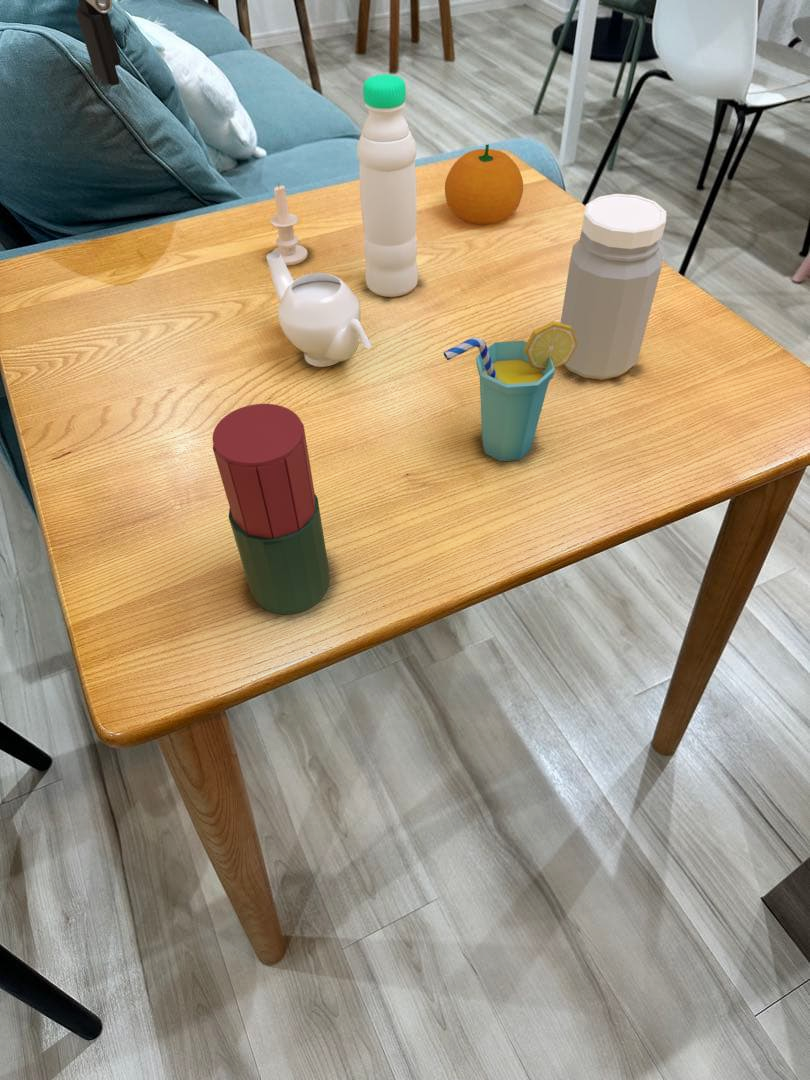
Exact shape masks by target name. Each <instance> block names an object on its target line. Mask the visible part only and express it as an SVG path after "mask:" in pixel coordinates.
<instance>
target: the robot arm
mask: <svg viewBox="0 0 810 1080" xmlns="http://www.w3.org/2000/svg"><path fill="white" fill-rule="evenodd" d="M77 1H78V4H79V5H76V8H77V9H76V10H75V13H76V17H77V20H78V23H79V26H80V30H81V33H82V34H81V35H82V37H83V41H84V44H85V47H86V50H87V54H88V57H89V61H90V64H91V67H92V70H93V73H94V74H95V76H97V77H98V78H99V79H100V80H102V81H103V82H104V83H105V84H107V85H110V86H112V87H114V86H117V85H120V79H119V74H118V72H117V71H118V70H117V66H120V65H121V64H122V61H121V56H120V52H119V48H118V45H117V41H116V38H115V34H114V30H113V26H112V23H111V20H110V16H109V12H111V10H112V7H113V0H77Z"/></svg>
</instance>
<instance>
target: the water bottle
mask: <svg viewBox="0 0 810 1080" xmlns="http://www.w3.org/2000/svg"><path fill="white" fill-rule="evenodd" d="M406 89H407V88H406V83H405V81H404V79H403V78H401V77H400V76H397V75H394V74H386V73H384V74H375V75H372V76H370V77H368V78H367V79H366V80H365V81H364V83H363V86H362V97H363V102H364V107H365V108H366V109H367V111H368V115H367V118H366V120H365V121H364V124H363V127H362V131H361V134H360V136H359V139H358V142H357V147H356V154H357V159H358V161H359V173H358V174H359V198H360V211H361V222H362V229H363V234H364V235H363V254H364V258H365V267H364V268H365V269H364V271H365V272H364V275H365V276H364V277H365V283H366V284H365V285H366V287H367V288H368V289H369V290H370V291H371V292H372V293H373V294H375V295H378V296H381V297H387V298H397V297H401V296H404V295H407V294H409V293H411V292H412V291H413V290H414V289H415V288H416V287H417V285H418V282H419V281H418V280H419V272H418V261H417V257H418V238H417V233H416V232H417V231H416V230H417V218H418V217H417V214H418V189H417V185H418V183H417V171H416V161H415V160H416V157H417V143H416V141H415V138H414V136H413V133H412V131H411V130H410V128H409V124H408V121H407V120H406V118H405V117H404V115H403V108H404V107H405V105H406V97H407V95H406V94H407V92H406Z"/></svg>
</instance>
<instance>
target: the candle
mask: <svg viewBox="0 0 810 1080" xmlns="http://www.w3.org/2000/svg"><path fill="white" fill-rule="evenodd" d="M277 185H278V186H276V187H274V189H273V191H274V192H273V193H274V202H275V208H276V215H273V216H272V217H271V218H270V221H269V222H270V224H271V225H272V226H274V227H276V228H277V234H278V237H277V238H276V240H275V244H276V246H277V247H275V248H274V249H273V250H272V251H271V253H272V252H278V253H280V254H281V256H282V258H283V260H284V262H285V264H286V266H295V265H298V264H301V263H303V262H304V261H305V260H307V257H308V254H309V253H308V250H307V248H306V247H304V246H303V245H300V244H299V243H300V240H299V237H298V236H297V235H295V230H294V225H296V224H297V223H298V222H299V216H298V215H296V214H294V213H290V210H289V204H288V197H287V193H286V192H287V191H286V186H285V185H280V183H279V182H278V184H277Z"/></svg>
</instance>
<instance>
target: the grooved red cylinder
mask: <svg viewBox="0 0 810 1080" xmlns="http://www.w3.org/2000/svg"><path fill="white" fill-rule="evenodd" d="M212 451H213V455H214V458H215V462H216V465H217V468H218V472H219V476H220V478H221V482H222V485H223V490H224V492H225V496H226V499H227V502H228V503H227V504H228V506H229V508H230V510H231V513H232V517H233V520H234V521H235V522H236V523H237V524H238V525H239V526H240V527H241V528H242V529H243V530H244V531H245V532H246V533H247V534H249V535H254V536H260V537H266V538H271V539H272V538H273V537H274V538H277V537H280V536H284V535H287V534H290V533H293V532H296V531H298V529H299V530H300V529H301V528H302V527H303V526H304V525H305V524H306V523H307V522H308V520H309V519H310V518H311V517H312V516H313V515H314V513H315V494H316V493H315V487H314V482H313V473H312V468H311V462H310V456H309V455H310V454H309V450H308V443H307V437H306V430H305V425H304V423H303V422H302V420H301V418H300V417H299V415H298V414H297V413H296V412H295V411H292V409H290V408H287V407H285V406H282V405H278V404H273V403H255V404H250V405H249V404H248V405H245V406H242V407H239V408H237V409H235V410H232V411H231V412H229V413H228V414H226V415H225V416H224V417H222V418H221V419H220V420H219V421H218V423H217V424H216V426H215V427H214V429H213V432H212Z"/></svg>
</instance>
